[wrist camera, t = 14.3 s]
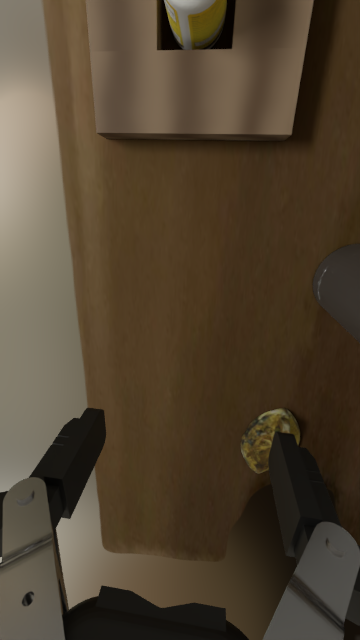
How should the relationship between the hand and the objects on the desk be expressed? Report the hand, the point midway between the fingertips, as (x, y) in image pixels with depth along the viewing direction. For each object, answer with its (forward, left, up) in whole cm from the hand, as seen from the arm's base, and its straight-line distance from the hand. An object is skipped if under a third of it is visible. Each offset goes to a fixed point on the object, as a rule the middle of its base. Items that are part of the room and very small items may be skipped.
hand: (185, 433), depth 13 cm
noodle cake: (-13, +28, -27) cm, 41 cm away
